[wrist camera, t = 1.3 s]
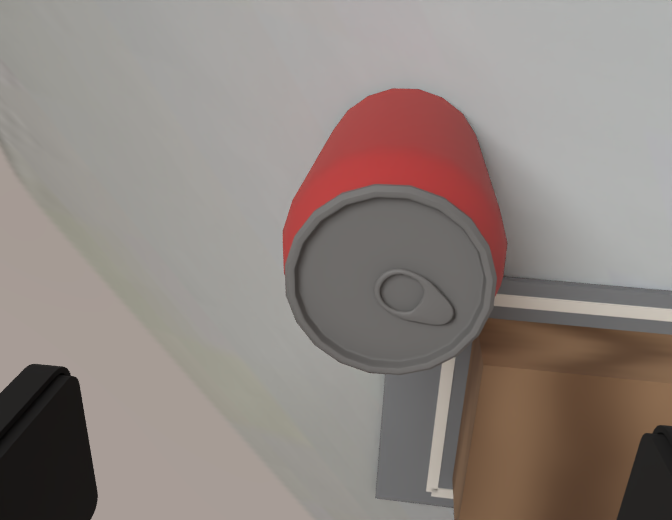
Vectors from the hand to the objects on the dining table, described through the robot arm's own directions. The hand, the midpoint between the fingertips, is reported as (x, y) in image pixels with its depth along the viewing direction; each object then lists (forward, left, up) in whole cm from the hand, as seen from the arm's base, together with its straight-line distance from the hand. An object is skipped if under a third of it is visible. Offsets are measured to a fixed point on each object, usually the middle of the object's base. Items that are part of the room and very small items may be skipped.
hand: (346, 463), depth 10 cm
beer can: (0, 0, -19) cm, 19 cm away
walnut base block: (-9, +12, -18) cm, 24 cm away
